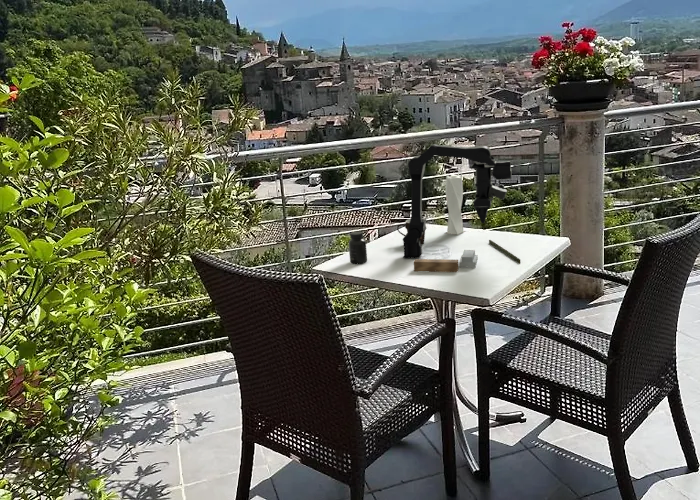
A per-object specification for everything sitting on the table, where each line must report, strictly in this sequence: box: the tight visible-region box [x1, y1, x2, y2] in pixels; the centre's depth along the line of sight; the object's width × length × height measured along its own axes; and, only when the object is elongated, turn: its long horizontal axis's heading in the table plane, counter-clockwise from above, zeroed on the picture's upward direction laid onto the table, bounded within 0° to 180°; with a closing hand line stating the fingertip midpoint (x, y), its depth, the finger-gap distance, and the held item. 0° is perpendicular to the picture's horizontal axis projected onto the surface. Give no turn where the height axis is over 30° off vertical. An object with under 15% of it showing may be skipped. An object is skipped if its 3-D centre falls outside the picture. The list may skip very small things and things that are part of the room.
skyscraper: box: [443, 171, 467, 236], centre depth 299 cm, size 8×8×28 cm
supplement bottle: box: [348, 231, 368, 265], centre depth 266 cm, size 7×7×12 cm
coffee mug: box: [396, 218, 426, 246], centre depth 289 cm, size 12×9×10 cm
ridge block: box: [458, 249, 479, 268], centre depth 256 cm, size 6×10×4 cm, turn 165°
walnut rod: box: [413, 258, 460, 273], centre depth 250 cm, size 16×4×4 cm, turn 75°
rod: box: [488, 239, 521, 264], centre depth 267 cm, size 31×1×2 cm, turn 9°
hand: (484, 220), depth 259 cm, fingers open, 9 cm apart
